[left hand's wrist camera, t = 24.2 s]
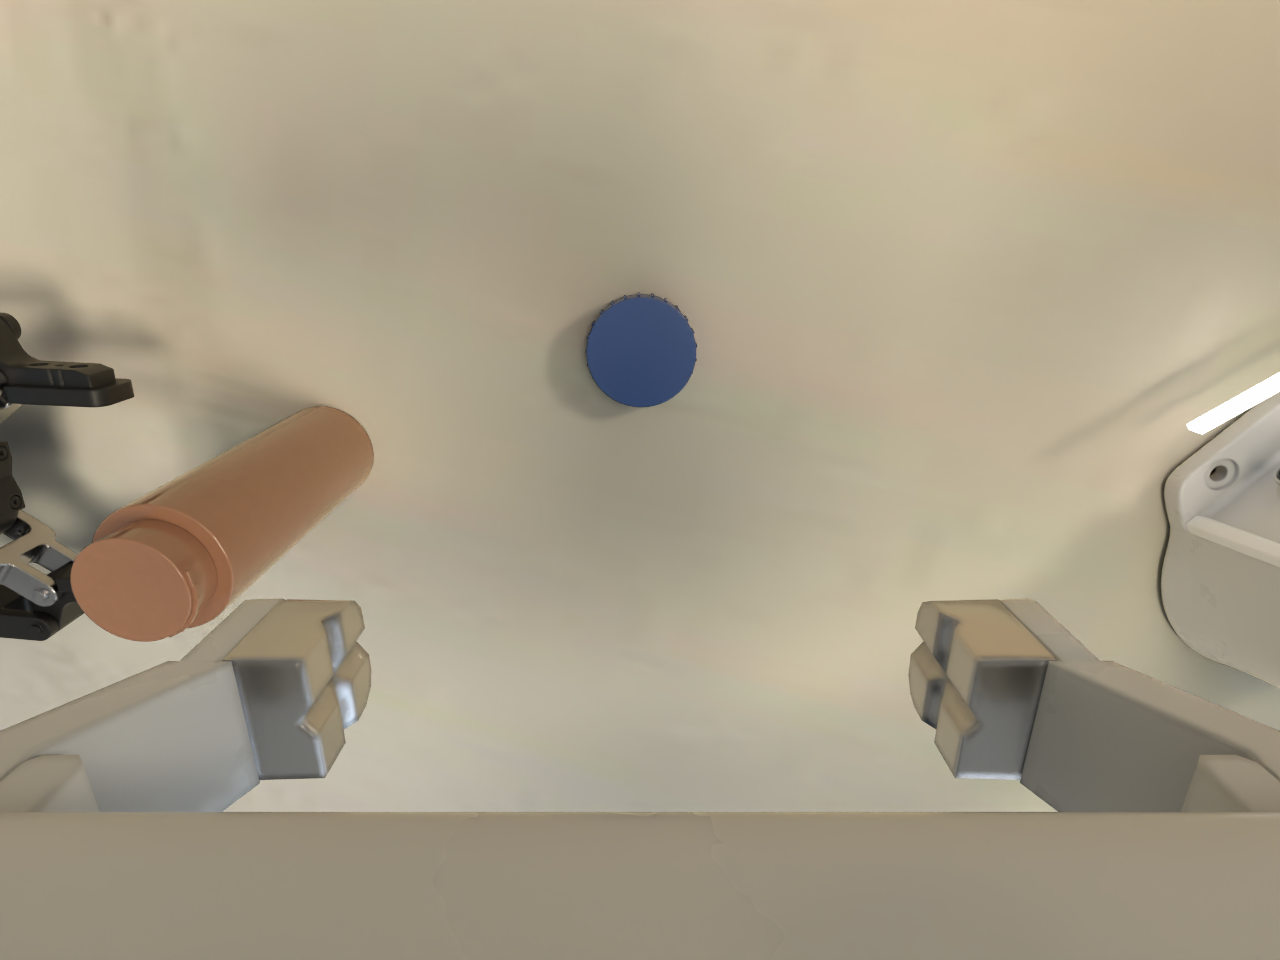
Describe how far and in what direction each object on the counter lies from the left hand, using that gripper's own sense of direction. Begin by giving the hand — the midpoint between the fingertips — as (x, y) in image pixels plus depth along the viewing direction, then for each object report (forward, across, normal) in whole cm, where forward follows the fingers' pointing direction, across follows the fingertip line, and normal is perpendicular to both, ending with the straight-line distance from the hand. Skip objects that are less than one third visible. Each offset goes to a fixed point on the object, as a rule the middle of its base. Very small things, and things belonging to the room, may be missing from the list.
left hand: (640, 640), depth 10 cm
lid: (+25, 0, 0) cm, 25 cm away
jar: (+26, +16, +5) cm, 31 cm away
